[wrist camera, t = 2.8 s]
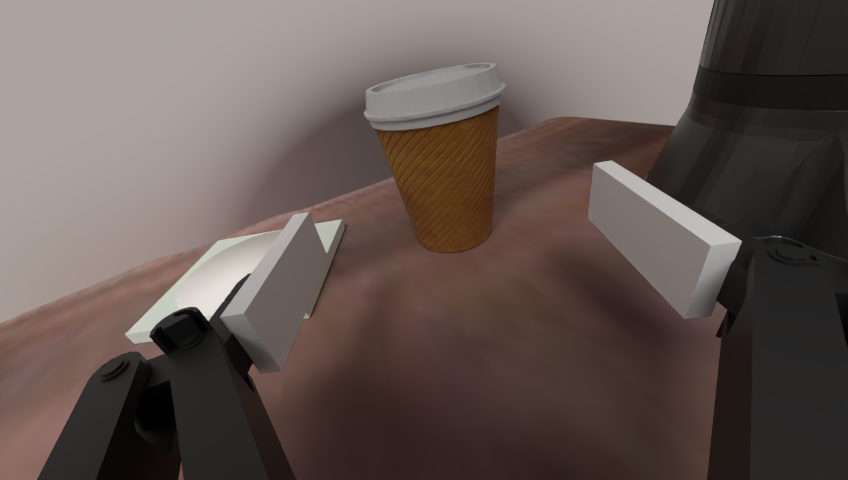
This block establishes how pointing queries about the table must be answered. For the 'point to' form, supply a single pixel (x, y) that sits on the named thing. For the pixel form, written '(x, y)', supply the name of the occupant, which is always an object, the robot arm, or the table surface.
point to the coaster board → (226, 276)
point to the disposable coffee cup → (442, 149)
